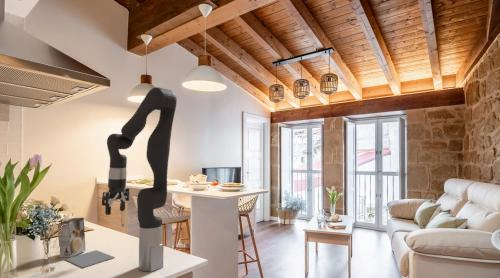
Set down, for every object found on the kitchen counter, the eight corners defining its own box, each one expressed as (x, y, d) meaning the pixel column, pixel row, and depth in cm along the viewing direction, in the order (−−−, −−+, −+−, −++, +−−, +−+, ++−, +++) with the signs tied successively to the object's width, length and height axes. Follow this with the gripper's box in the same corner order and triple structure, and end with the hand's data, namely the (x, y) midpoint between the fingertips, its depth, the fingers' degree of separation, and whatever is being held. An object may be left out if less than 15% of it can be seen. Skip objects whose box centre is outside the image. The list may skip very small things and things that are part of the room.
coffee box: (74, 250, 143) (73, 217, 144) (86, 250, 142) (84, 217, 143) (58, 257, 134) (57, 222, 135) (70, 257, 133) (69, 221, 134)
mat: (114, 258, 134) (114, 257, 134) (82, 268, 122) (82, 267, 122) (96, 250, 143) (96, 250, 143) (65, 259, 132) (65, 259, 132)
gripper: (112, 179, 127) (109, 217, 127) (134, 176, 141) (132, 210, 141) (98, 178, 130) (96, 215, 130) (122, 175, 143) (120, 208, 143)
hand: (115, 212), depth 135 cm, fingers open, 8 cm apart
